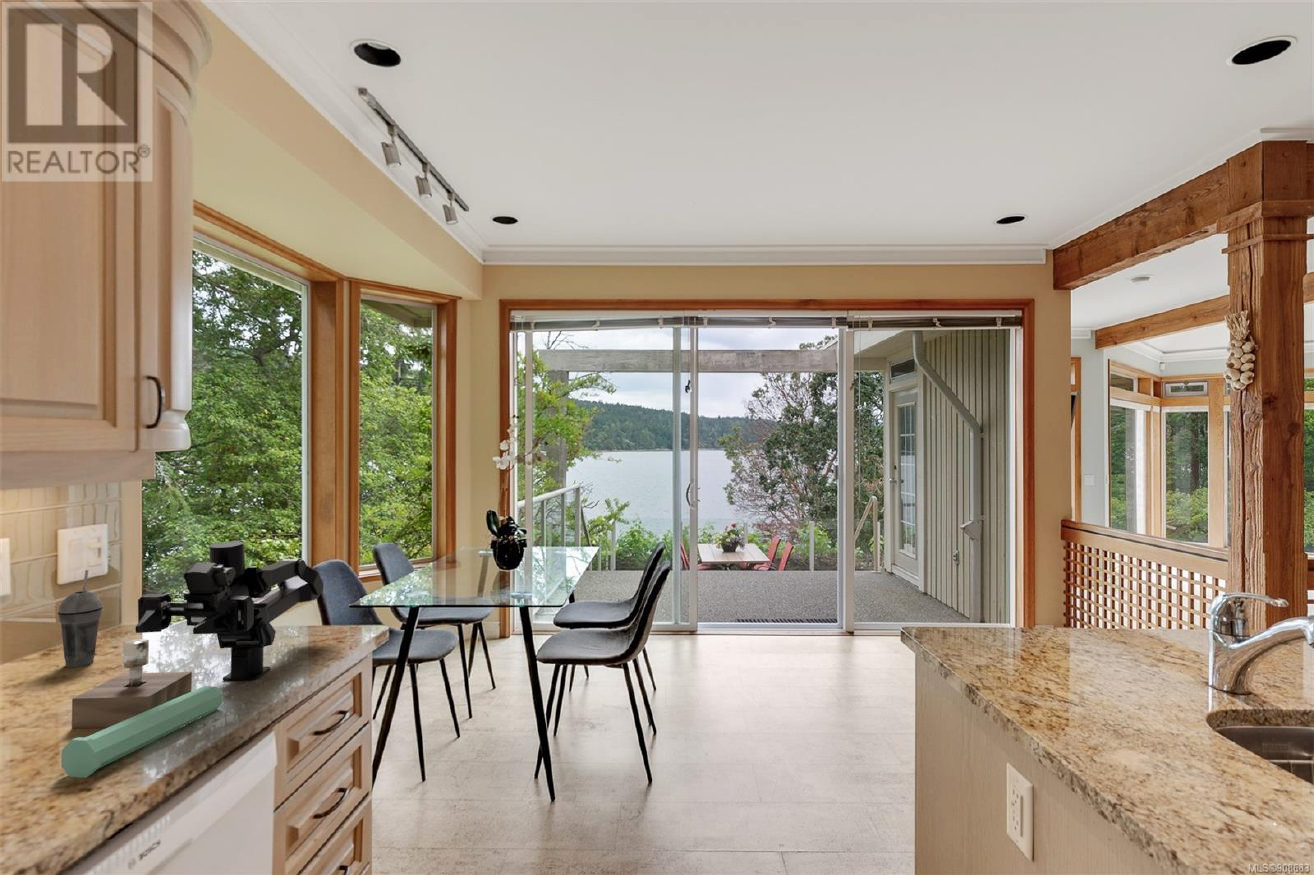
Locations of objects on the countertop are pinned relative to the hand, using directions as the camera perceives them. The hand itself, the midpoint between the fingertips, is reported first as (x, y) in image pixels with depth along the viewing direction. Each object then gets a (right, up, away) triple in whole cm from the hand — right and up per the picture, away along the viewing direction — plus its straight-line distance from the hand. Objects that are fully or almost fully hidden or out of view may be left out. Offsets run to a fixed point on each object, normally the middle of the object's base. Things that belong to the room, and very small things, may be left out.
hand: (165, 630), depth 110 cm
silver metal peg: (-10, -12, +6) cm, 17 cm away
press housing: (-10, -16, +6) cm, 20 cm away
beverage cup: (-42, -17, +31) cm, 55 cm away
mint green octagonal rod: (+1, -17, -4) cm, 17 cm away
